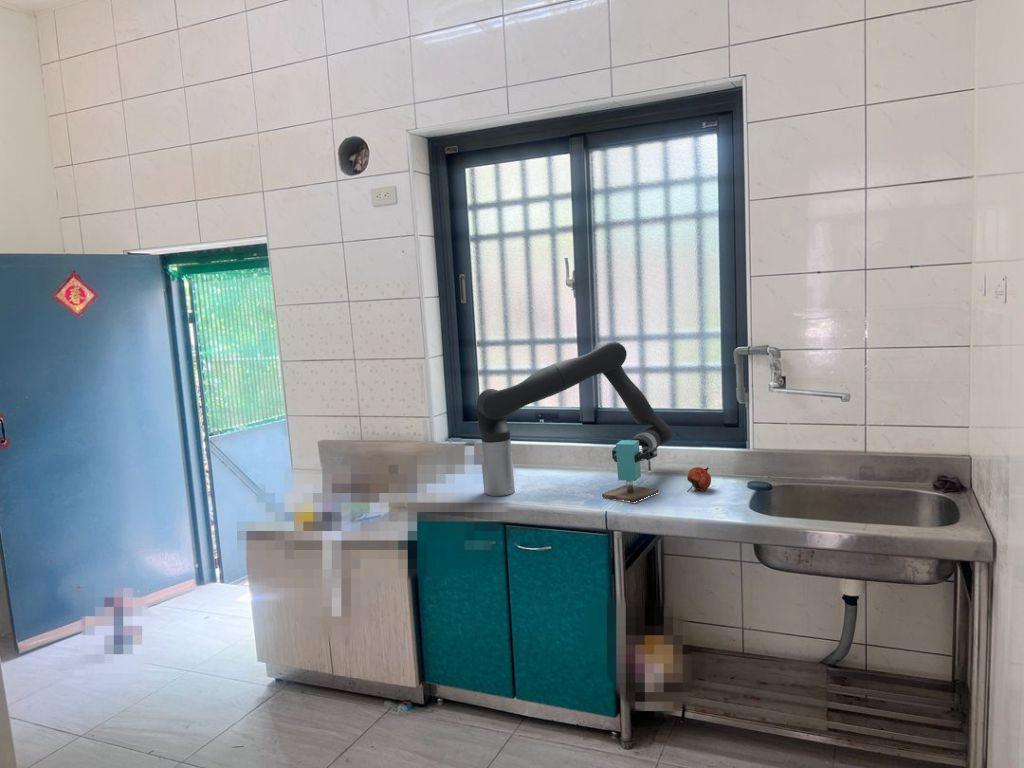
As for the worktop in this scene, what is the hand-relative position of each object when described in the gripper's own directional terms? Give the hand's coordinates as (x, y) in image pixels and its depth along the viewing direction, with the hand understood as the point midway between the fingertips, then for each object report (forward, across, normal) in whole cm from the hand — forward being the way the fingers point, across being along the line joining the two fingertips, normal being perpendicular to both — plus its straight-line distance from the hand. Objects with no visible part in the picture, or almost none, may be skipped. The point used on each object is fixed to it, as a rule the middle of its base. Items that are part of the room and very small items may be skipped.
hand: (625, 459), depth 214 cm
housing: (-3, 0, +6) cm, 7 cm away
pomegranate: (-12, +18, +12) cm, 25 cm away
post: (-2, 0, +11) cm, 11 cm away
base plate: (-2, 0, +12) cm, 12 cm away
